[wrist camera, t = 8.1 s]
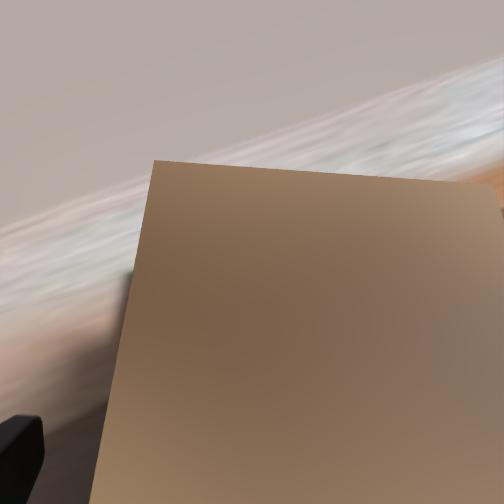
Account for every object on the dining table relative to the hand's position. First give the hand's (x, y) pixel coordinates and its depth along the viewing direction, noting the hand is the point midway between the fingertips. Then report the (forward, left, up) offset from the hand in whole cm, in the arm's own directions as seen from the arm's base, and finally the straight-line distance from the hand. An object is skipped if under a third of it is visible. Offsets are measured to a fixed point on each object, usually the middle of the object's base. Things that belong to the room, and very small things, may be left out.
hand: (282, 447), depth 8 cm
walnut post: (0, +1, -9) cm, 9 cm away
